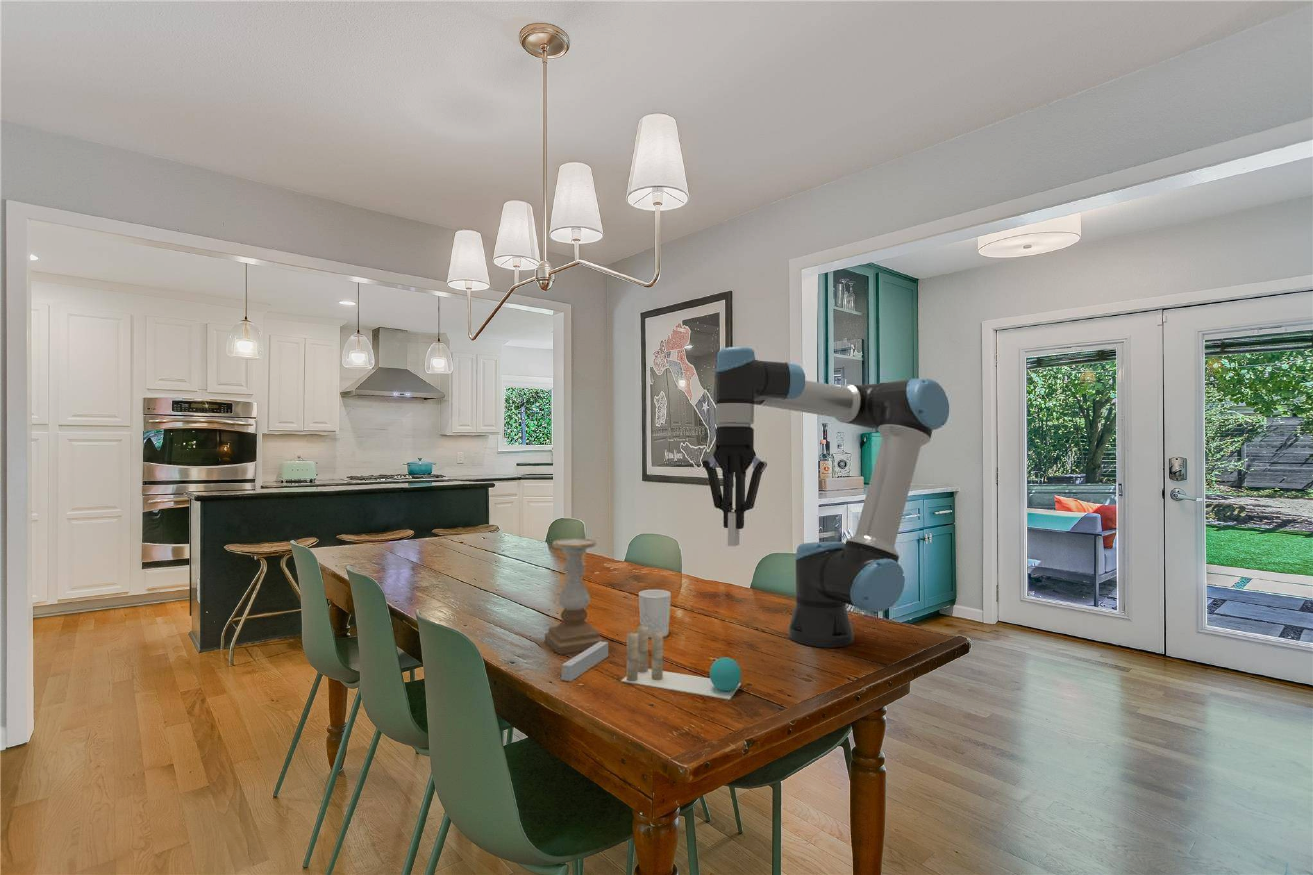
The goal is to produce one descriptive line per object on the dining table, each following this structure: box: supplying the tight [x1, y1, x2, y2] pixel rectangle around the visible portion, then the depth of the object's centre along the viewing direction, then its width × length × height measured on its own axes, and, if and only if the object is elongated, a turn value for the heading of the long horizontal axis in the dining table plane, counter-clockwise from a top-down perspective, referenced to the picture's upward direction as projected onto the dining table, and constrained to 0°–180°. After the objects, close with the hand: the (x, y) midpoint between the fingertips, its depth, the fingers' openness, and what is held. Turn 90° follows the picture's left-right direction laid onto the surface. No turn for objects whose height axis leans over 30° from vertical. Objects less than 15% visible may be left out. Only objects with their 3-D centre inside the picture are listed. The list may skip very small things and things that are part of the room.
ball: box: [709, 656, 742, 691], centre depth 118 cm, size 6×6×6 cm
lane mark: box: [620, 668, 742, 700], centre depth 121 cm, size 22×8×1 cm, turn 67°
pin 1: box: [626, 632, 638, 681], centre depth 122 cm, size 2×2×9 cm
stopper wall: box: [561, 641, 609, 682], centre depth 129 cm, size 2×16×3 cm, turn 157°
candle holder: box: [544, 538, 605, 656], centre depth 144 cm, size 11×11×24 cm
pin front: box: [651, 632, 664, 680], centre depth 123 cm, size 2×2×9 cm
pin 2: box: [636, 625, 649, 673], centre depth 127 cm, size 2×2×9 cm
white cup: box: [638, 589, 672, 639], centre depth 153 cm, size 8×8×10 cm
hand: (733, 545), depth 123 cm, fingers closed
